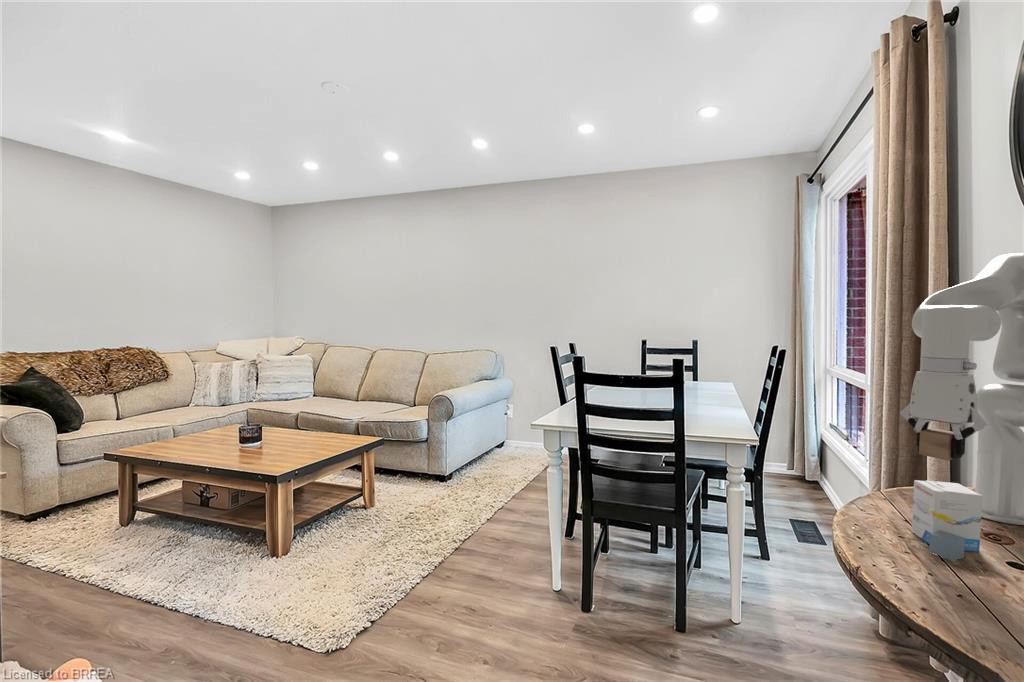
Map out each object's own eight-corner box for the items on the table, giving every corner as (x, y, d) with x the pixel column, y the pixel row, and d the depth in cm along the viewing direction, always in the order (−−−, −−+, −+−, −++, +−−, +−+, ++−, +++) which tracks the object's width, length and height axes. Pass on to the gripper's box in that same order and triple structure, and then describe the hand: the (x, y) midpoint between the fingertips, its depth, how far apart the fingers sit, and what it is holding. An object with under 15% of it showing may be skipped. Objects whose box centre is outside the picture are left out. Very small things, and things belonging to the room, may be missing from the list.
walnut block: (931, 451, 111) (932, 428, 110) (960, 457, 106) (961, 433, 106) (919, 454, 108) (920, 430, 108) (947, 460, 104) (948, 435, 104)
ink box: (981, 552, 104) (984, 495, 103) (932, 547, 106) (935, 490, 105) (955, 535, 112) (958, 482, 112) (910, 531, 114) (913, 478, 114)
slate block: (939, 549, 105) (940, 530, 105) (963, 558, 101) (964, 537, 101) (929, 553, 103) (930, 533, 103) (953, 561, 100) (954, 541, 99)
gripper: (1006, 369, 100) (1001, 462, 101) (906, 362, 116) (903, 443, 117) (987, 371, 97) (982, 467, 98) (887, 363, 112) (884, 447, 113)
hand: (939, 453), depth 107 cm, fingers closed on walnut block, 4 cm apart
